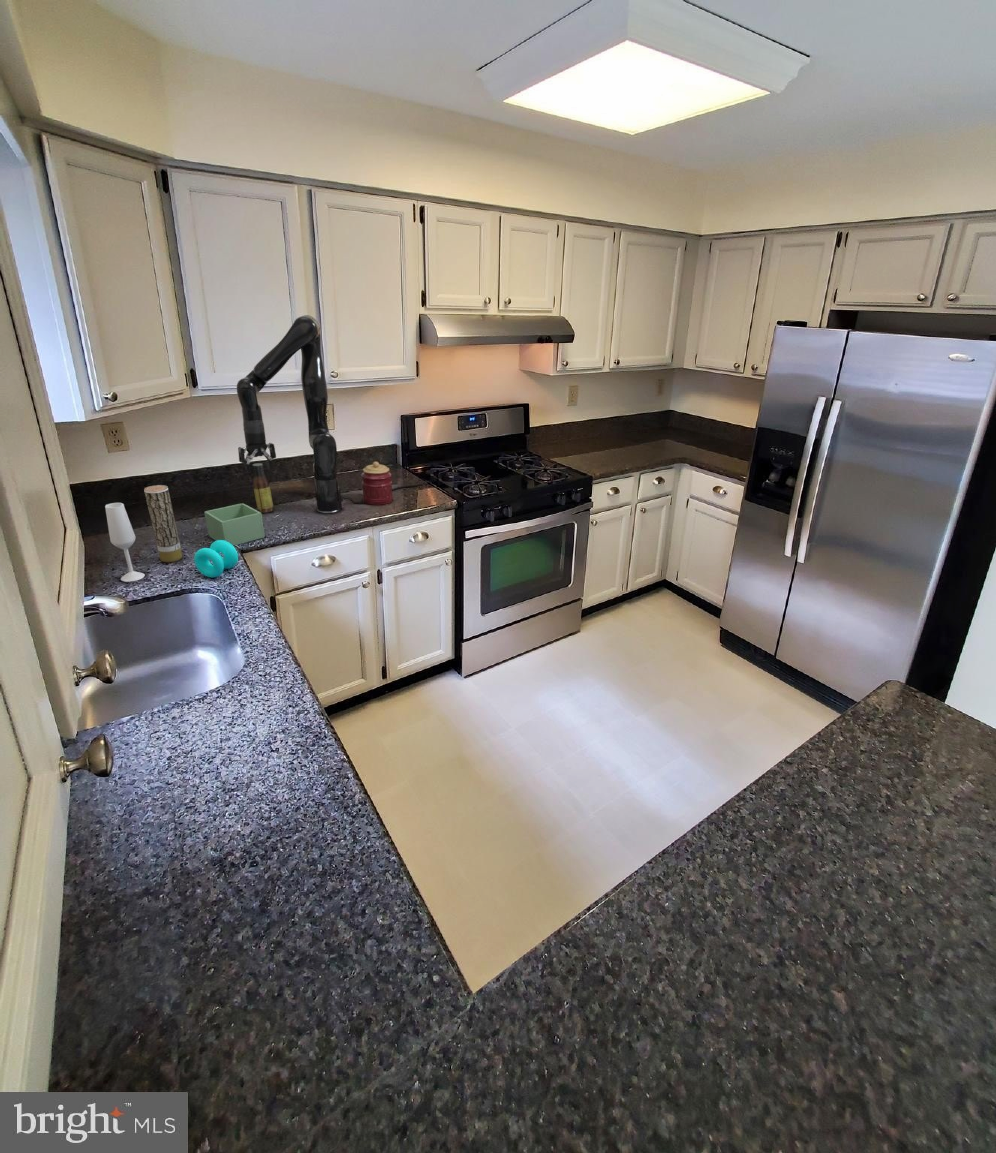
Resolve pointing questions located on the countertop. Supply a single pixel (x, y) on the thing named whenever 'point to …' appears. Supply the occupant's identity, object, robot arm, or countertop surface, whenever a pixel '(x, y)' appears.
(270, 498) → the sauce bottle
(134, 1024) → the countertop surface
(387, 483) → the kitchen canister
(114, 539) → the champagne flute
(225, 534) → the bin
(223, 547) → the turquoise yo-yo
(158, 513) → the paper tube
